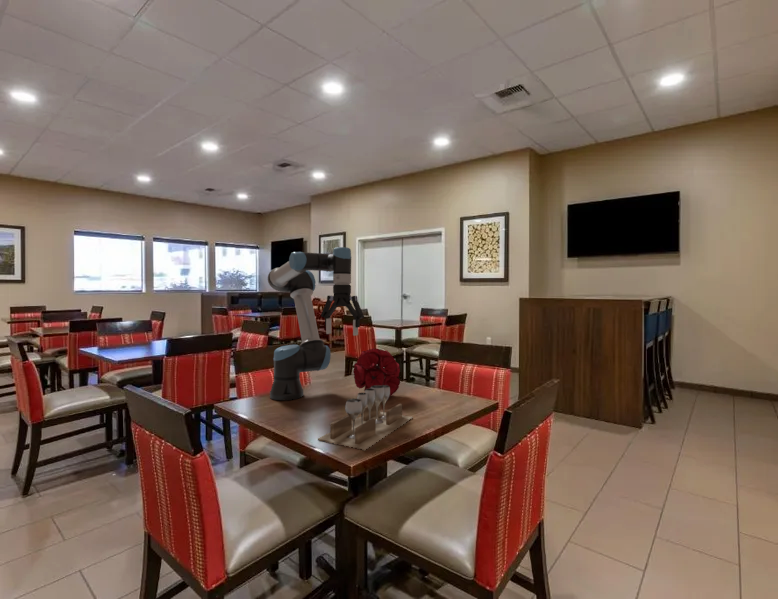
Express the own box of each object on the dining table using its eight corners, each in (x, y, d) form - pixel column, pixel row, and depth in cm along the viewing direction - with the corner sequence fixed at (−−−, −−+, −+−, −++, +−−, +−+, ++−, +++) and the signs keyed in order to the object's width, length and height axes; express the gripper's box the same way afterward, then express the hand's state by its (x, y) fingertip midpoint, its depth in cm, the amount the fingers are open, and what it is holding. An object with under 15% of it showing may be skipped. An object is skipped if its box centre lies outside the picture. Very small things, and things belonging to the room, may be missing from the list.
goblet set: (379, 414, 159) (379, 381, 159) (393, 416, 157) (393, 382, 157) (341, 437, 134) (341, 397, 134) (356, 440, 132) (357, 399, 131)
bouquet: (352, 405, 199) (349, 387, 173) (357, 359, 210) (355, 336, 184) (396, 408, 199) (400, 391, 173) (398, 362, 211) (403, 340, 184)
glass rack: (317, 440, 133) (317, 423, 133) (372, 411, 165) (372, 398, 165) (364, 450, 125) (365, 432, 125) (412, 418, 157) (412, 404, 157)
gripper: (312, 284, 174) (312, 333, 174) (362, 284, 162) (362, 337, 163) (323, 284, 180) (323, 332, 181) (372, 284, 169) (371, 335, 169)
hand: (341, 334), depth 172 cm, fingers open, 13 cm apart
